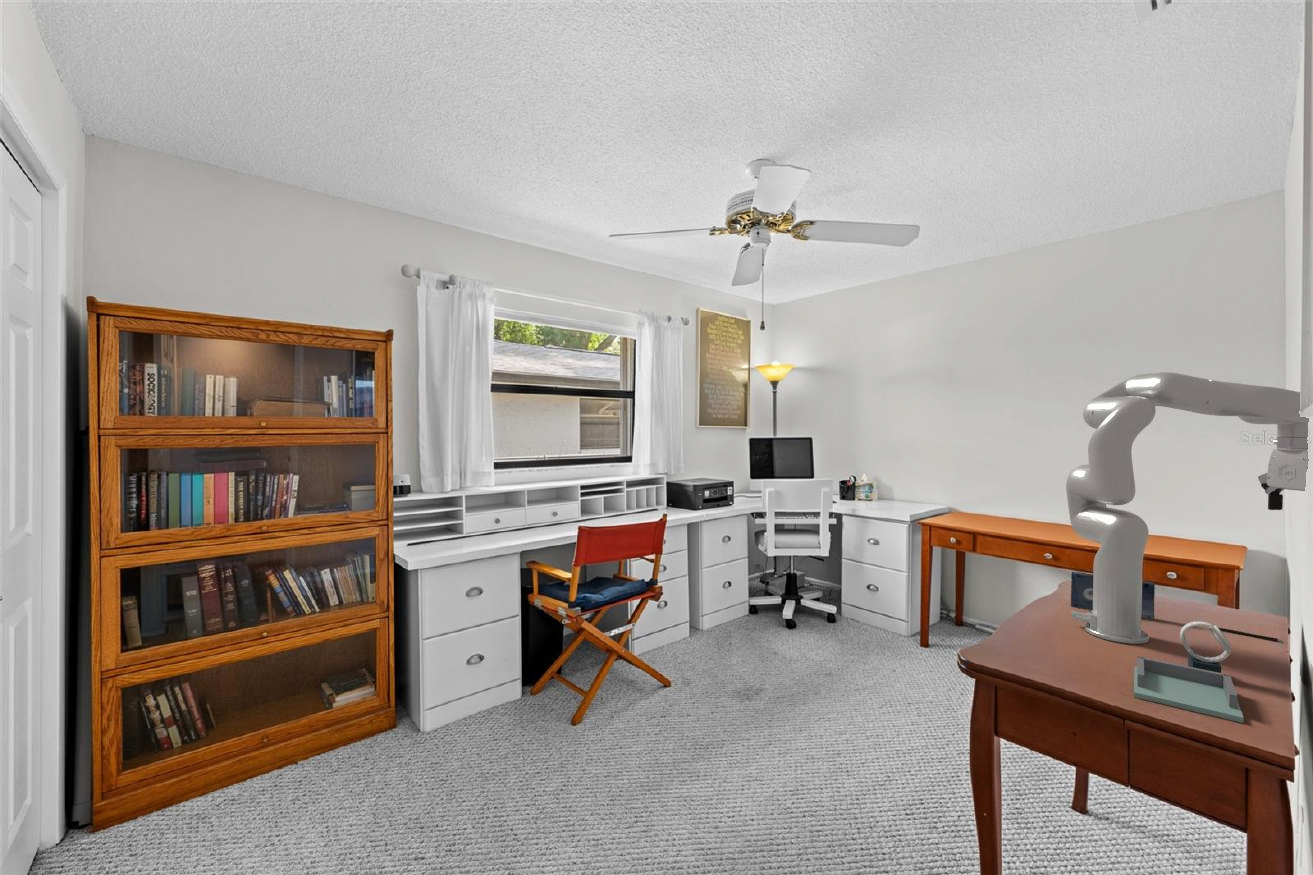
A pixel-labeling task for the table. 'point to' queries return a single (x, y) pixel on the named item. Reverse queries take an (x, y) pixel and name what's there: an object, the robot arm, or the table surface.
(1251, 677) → the table surface
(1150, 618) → the vhs cassette tape
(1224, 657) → the watch
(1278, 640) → the black pen
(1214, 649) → the table surface
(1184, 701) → the shallow grey tray
